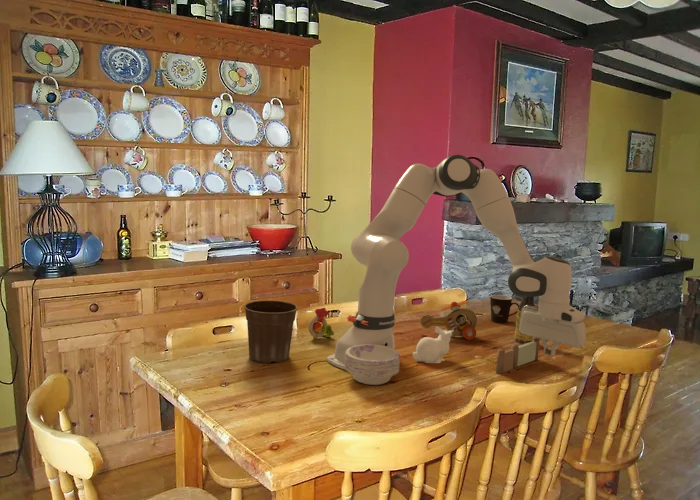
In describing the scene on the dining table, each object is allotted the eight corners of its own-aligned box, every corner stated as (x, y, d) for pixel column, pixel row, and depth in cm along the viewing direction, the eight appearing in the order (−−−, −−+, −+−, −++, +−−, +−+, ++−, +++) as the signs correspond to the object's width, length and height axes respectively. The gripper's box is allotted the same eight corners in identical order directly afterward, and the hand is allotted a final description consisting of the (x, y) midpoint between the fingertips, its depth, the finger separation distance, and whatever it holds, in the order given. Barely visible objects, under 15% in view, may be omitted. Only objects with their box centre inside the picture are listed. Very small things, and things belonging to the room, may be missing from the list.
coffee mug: (484, 319, 232) (485, 295, 230) (500, 318, 235) (502, 294, 234) (502, 326, 221) (504, 301, 220) (520, 325, 225) (522, 300, 224)
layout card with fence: (508, 379, 163) (510, 354, 162) (457, 362, 176) (459, 339, 175) (548, 363, 178) (550, 341, 177) (498, 349, 191) (500, 328, 190)
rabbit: (444, 356, 181) (446, 320, 180) (456, 366, 172) (459, 328, 171) (408, 358, 178) (410, 321, 177) (419, 368, 169) (421, 329, 168)
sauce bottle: (510, 341, 202) (514, 286, 199) (524, 339, 204) (529, 285, 202) (522, 346, 196) (526, 290, 193) (536, 345, 198) (541, 289, 196)
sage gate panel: (518, 367, 172) (520, 344, 171) (512, 365, 173) (514, 343, 172) (539, 359, 180) (540, 338, 179) (533, 357, 182) (535, 336, 181)
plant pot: (303, 352, 180) (305, 303, 177) (284, 369, 164) (286, 314, 162) (256, 346, 184) (257, 298, 182) (233, 361, 168) (234, 309, 166)
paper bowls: (366, 364, 169) (367, 339, 168) (409, 379, 160) (410, 352, 158) (332, 378, 157) (334, 351, 156) (376, 394, 148) (378, 366, 147)
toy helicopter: (479, 340, 201) (481, 302, 199) (422, 340, 198) (424, 302, 197) (471, 334, 209) (473, 297, 207) (416, 333, 206) (418, 297, 205)
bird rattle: (320, 347, 193) (340, 333, 198) (310, 319, 189) (330, 306, 194) (310, 342, 198) (329, 329, 202) (300, 315, 194) (320, 302, 198)
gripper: (517, 304, 177) (513, 347, 179) (580, 318, 163) (576, 365, 164) (527, 302, 182) (524, 344, 184) (590, 315, 167) (586, 360, 169)
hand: (549, 354), depth 174 cm, fingers closed
